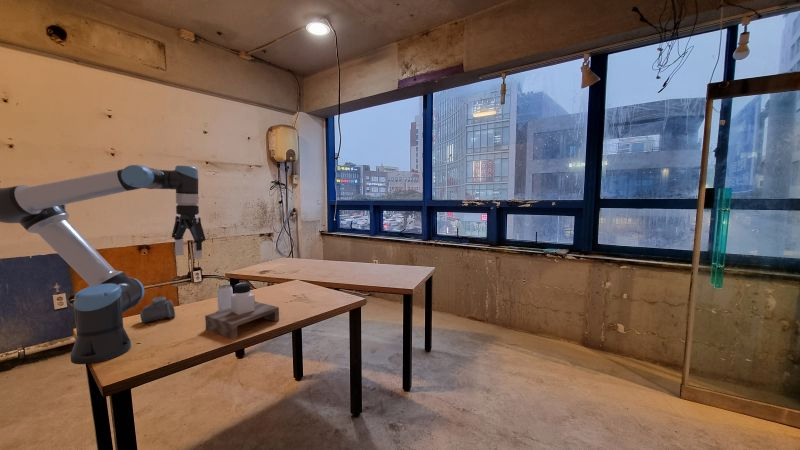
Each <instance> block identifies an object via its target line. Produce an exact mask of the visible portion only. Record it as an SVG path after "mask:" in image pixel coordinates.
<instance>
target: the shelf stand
mask: <svg viewBox="0 0 800 450" xmlns="http://www.w3.org/2000/svg"><path fill="white" fill-rule="evenodd" d="M204 317H205V321H204V322H205V330H206V331H208V332H211V333H214V334H216V335H220V336H223V337H226V338H228V339H230V340H234V339H236V338H238V326H240V325H243V324H246V323H249V322H251V321H255V320H257V319H260V318H261V319H265V320H268V321H272V322H275V323H276V322H279V320H280V307H279V306H275V305H272V304H267V303H262V302H258V301H255V311H252V312H248V313H245V314H241V315H237V314H235V313H234V312H232V311H231V308H228V309H225V310H222V311H217V312H213V313H209V314H207V315H205V316H204Z"/></svg>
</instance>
